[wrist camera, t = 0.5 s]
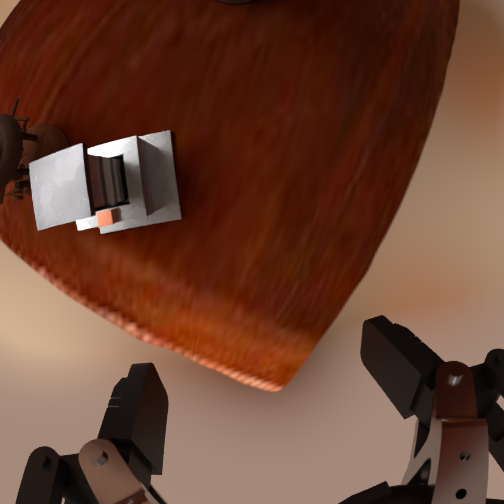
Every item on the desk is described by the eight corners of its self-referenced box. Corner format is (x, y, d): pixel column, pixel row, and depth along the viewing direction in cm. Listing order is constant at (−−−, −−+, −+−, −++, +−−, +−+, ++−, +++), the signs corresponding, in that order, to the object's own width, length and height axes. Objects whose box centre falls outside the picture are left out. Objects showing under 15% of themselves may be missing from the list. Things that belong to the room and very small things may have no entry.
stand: (91, 150, 31) (46, 142, 19) (171, 131, 32) (151, 109, 21) (103, 232, 34) (62, 255, 23) (182, 217, 36) (168, 235, 24)
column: (112, 168, 31) (28, 163, 13) (146, 160, 32) (82, 143, 14) (117, 204, 33) (38, 230, 15) (151, 197, 33) (91, 216, 15)
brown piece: (70, 202, 32) (-32, 228, 13) (24, 203, 32) (-66, 227, 12) (79, 102, 29) (-13, 67, 9) (31, 114, 28) (-55, 98, 8)
